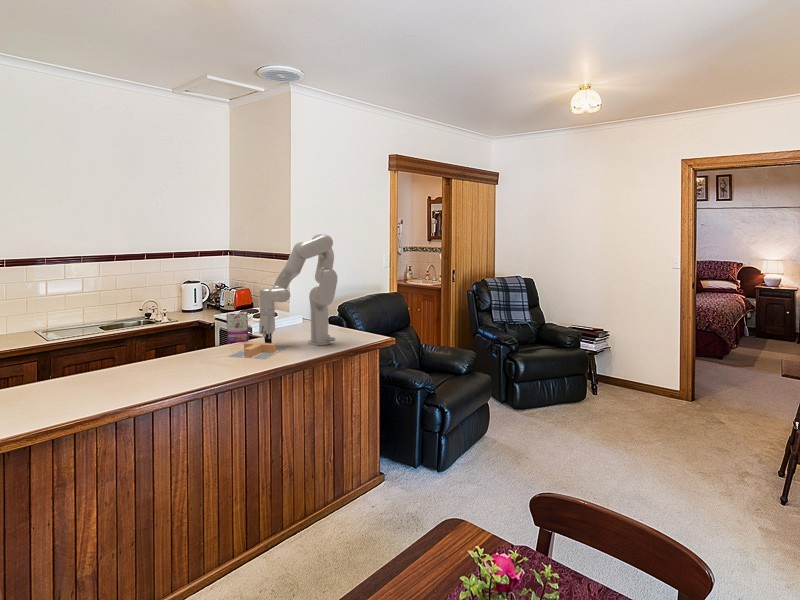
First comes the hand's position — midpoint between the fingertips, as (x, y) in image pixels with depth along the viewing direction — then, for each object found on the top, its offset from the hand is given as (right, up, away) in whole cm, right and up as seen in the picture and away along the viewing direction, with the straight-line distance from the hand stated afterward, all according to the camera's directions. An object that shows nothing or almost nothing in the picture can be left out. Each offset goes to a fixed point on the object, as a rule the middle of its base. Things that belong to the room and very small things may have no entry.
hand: (268, 346), depth 275 cm
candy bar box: (-21, +1, +15) cm, 25 cm away
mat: (-2, -2, -8) cm, 9 cm away
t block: (-3, -3, -14) cm, 15 cm away
